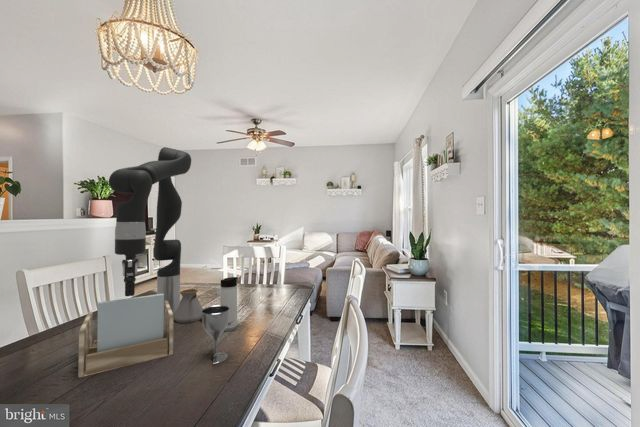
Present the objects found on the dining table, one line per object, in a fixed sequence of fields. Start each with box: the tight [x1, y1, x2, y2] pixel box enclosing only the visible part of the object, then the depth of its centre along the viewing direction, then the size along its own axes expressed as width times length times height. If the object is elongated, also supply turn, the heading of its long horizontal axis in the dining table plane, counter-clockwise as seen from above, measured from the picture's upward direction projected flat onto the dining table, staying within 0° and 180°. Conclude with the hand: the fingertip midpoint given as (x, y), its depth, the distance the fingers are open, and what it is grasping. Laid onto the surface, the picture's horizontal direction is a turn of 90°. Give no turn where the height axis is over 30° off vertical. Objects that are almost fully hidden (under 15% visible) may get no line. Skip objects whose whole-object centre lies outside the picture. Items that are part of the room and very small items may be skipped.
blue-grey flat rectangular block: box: [96, 293, 164, 353], centre depth 81 cm, size 2×16×18 cm, turn 125°
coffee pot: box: [173, 288, 204, 324], centre depth 111 cm, size 21×12×15 cm, turn 33°
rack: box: [77, 301, 174, 378], centre depth 86 cm, size 18×22×14 cm
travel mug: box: [219, 276, 239, 332], centre depth 108 cm, size 6×7×20 cm
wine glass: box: [201, 304, 229, 365], centre depth 85 cm, size 8×8×15 cm
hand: (130, 292), depth 81 cm, fingers open, 8 cm apart
